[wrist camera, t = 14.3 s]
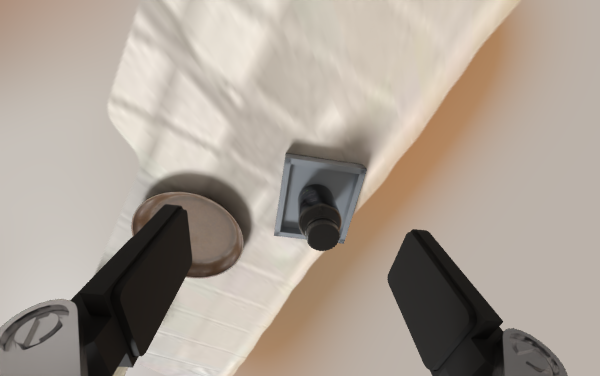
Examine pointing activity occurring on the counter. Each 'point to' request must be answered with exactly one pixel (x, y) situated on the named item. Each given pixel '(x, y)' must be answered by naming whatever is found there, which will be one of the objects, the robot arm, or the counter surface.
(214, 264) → the plant saucer
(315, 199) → the supplement bottle
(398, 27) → the counter surface
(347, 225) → the tray
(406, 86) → the counter surface
